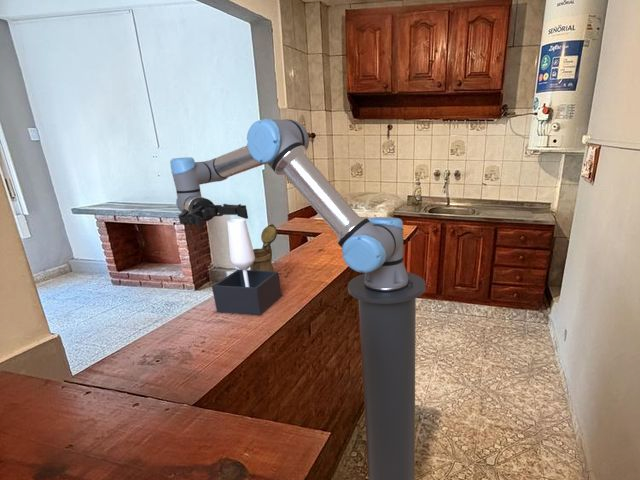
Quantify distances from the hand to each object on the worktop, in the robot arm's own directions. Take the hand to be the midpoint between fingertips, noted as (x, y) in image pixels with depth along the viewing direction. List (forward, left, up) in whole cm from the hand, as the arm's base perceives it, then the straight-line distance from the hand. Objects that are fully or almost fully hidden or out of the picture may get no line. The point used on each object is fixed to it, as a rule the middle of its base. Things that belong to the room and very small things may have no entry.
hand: (223, 217), depth 116 cm
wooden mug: (-4, -13, -25) cm, 28 cm away
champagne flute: (-8, +6, -24) cm, 25 cm away
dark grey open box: (-8, +6, -24) cm, 26 cm away
